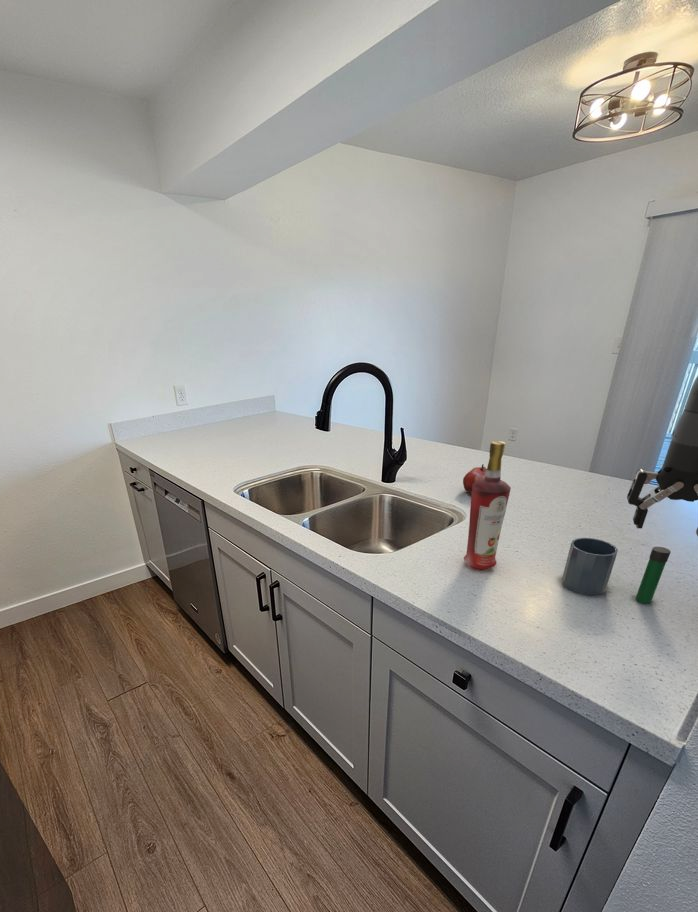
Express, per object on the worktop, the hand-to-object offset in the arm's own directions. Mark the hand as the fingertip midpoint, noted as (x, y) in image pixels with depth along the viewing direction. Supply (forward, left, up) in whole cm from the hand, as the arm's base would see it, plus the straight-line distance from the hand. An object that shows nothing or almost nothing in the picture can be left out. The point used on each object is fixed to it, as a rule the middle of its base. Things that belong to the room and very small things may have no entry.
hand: (668, 530), depth 77 cm
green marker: (0, 0, -15) cm, 15 cm away
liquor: (+23, -19, -15) cm, 33 cm away
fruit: (+1, -61, -15) cm, 63 cm away
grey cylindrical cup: (+7, -7, -15) cm, 18 cm away
